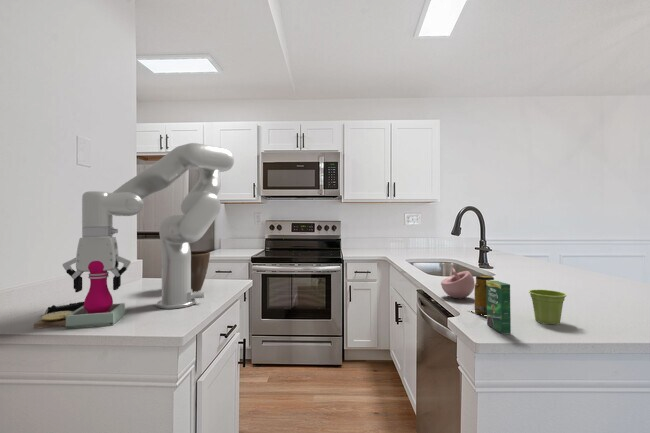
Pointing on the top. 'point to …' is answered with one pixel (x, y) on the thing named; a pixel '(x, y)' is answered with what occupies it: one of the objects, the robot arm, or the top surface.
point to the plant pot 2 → (547, 305)
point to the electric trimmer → (64, 307)
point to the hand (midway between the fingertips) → (97, 290)
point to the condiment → (481, 294)
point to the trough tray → (94, 317)
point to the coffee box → (498, 306)
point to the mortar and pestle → (458, 284)
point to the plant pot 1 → (198, 268)
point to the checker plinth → (50, 323)
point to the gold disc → (56, 316)
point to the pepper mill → (98, 290)
